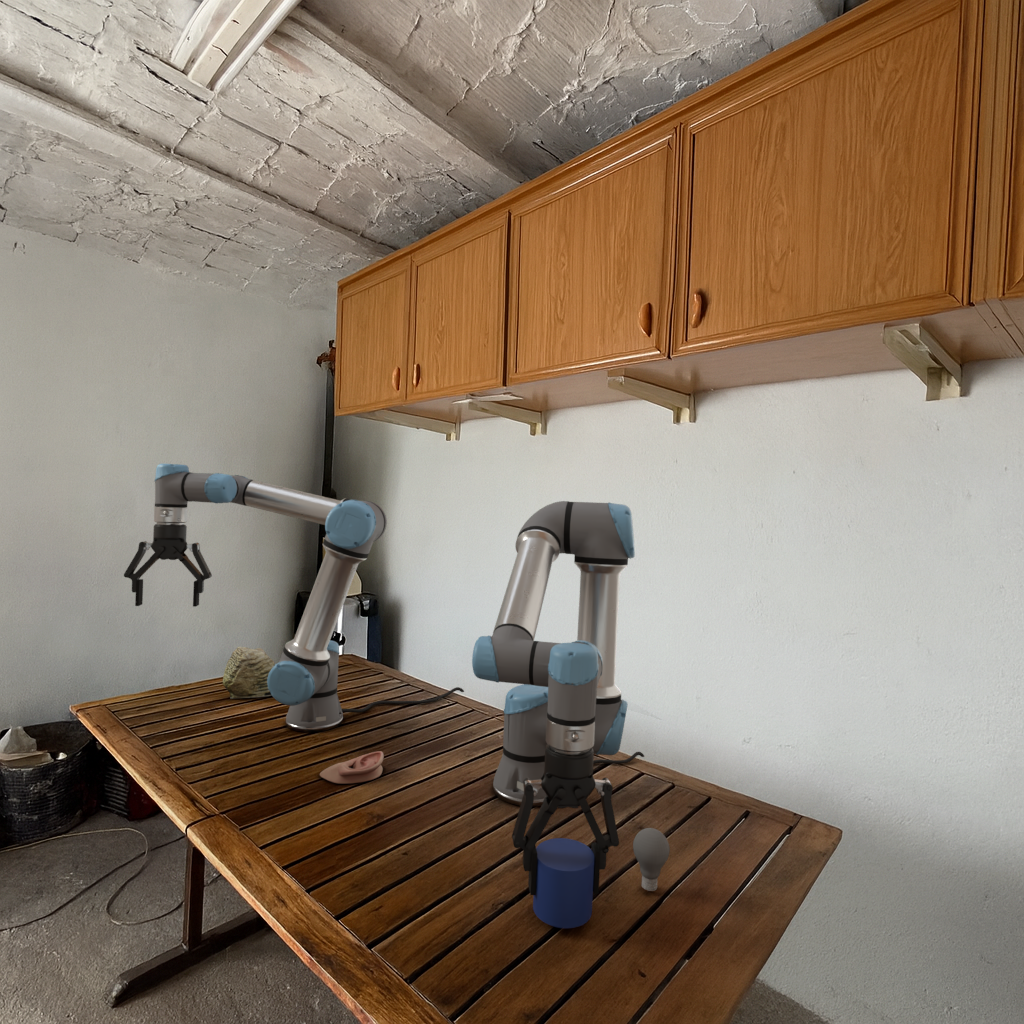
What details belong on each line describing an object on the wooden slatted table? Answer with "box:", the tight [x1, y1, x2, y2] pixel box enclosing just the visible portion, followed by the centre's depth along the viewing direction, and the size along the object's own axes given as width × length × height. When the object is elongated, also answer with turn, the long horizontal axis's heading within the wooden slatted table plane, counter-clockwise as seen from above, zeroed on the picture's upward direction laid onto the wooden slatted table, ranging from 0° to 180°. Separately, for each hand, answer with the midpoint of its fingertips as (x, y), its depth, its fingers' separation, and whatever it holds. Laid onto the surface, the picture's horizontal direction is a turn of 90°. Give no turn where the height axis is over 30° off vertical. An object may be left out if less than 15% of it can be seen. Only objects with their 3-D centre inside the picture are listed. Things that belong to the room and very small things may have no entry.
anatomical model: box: [319, 750, 385, 785], centre depth 145 cm, size 13×4×12 cm
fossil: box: [222, 646, 276, 699], centre depth 198 cm, size 9×18×15 cm, turn 132°
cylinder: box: [532, 837, 594, 929], centre depth 98 cm, size 9×9×9 cm
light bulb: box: [632, 827, 671, 892], centre depth 106 cm, size 6×6×10 cm
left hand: (167, 605), depth 164 cm, fingers open, 13 cm apart
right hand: (563, 889), depth 98 cm, fingers closed on cylinder, 9 cm apart
